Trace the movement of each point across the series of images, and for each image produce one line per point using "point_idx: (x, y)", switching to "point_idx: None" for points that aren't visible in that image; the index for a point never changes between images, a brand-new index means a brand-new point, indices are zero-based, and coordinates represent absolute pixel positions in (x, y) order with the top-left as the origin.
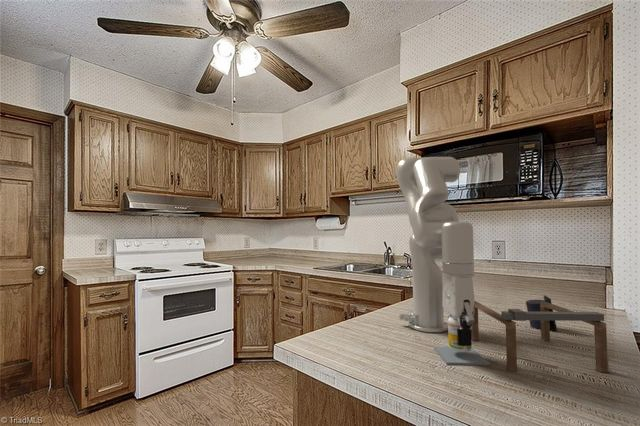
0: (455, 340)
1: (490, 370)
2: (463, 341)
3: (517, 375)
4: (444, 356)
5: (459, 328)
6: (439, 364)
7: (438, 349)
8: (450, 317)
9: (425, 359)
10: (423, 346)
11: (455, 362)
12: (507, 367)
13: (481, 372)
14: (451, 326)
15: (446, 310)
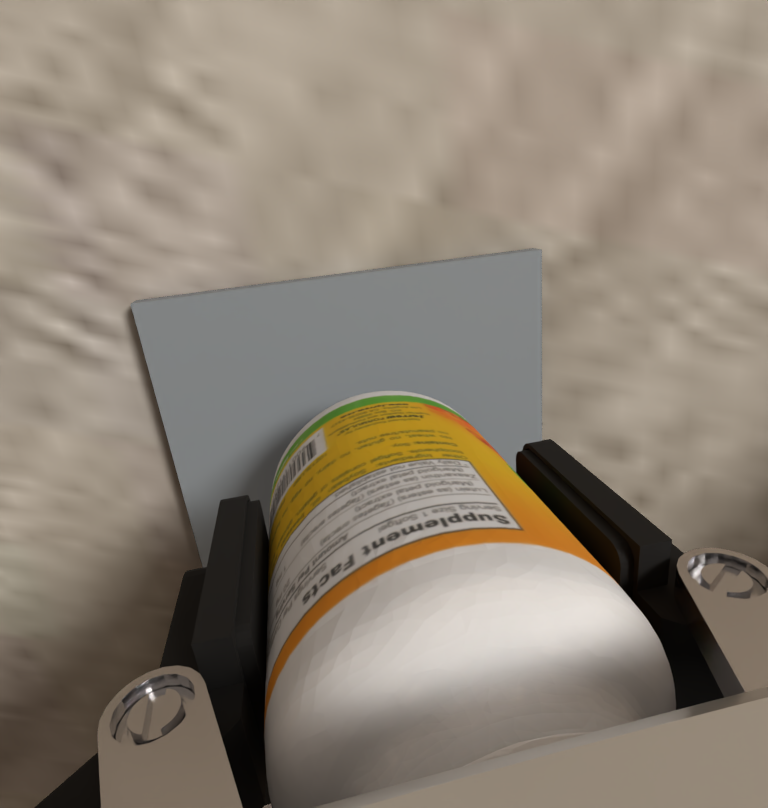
0: (292, 491)
1: (121, 620)
2: (187, 582)
3: (88, 754)
4: (288, 309)
5: (182, 680)
6: (120, 223)
7: (471, 283)
8: (547, 656)
9: (223, 85)
10: (592, 142)
11: (156, 387)
12: None
13: (53, 555)
14: (355, 557)
15: (710, 735)
